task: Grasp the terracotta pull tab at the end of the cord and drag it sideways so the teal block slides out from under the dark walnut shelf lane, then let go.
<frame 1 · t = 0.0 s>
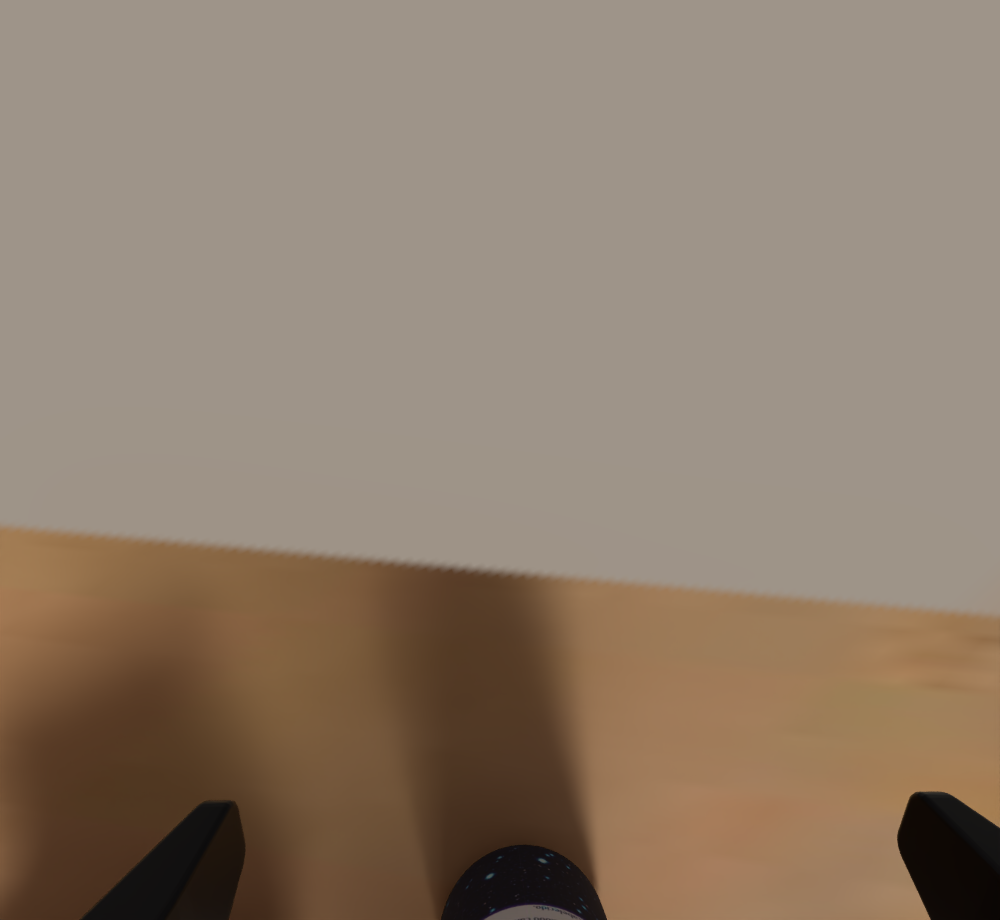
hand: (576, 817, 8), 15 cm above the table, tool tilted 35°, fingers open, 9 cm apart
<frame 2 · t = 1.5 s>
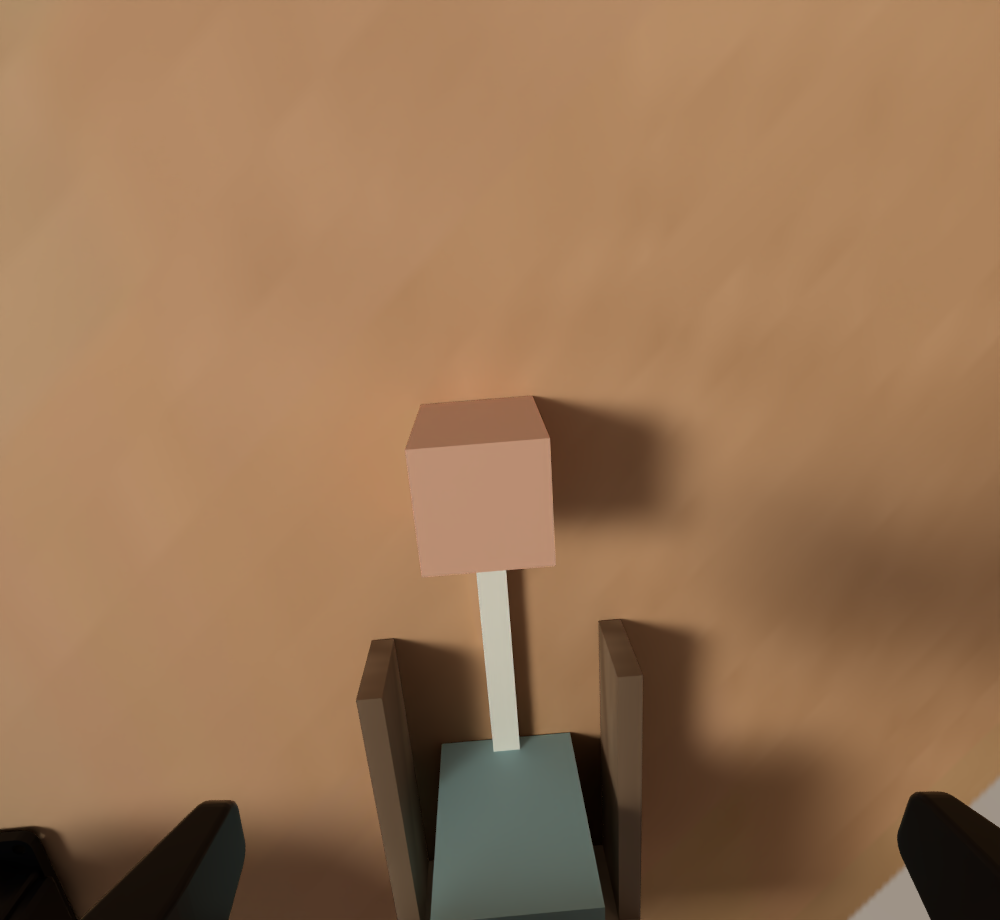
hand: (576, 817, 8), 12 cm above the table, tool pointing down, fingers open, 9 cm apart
shelf lane: (510, 787, 24), on the table
tethered block: (510, 786, 24), on the table
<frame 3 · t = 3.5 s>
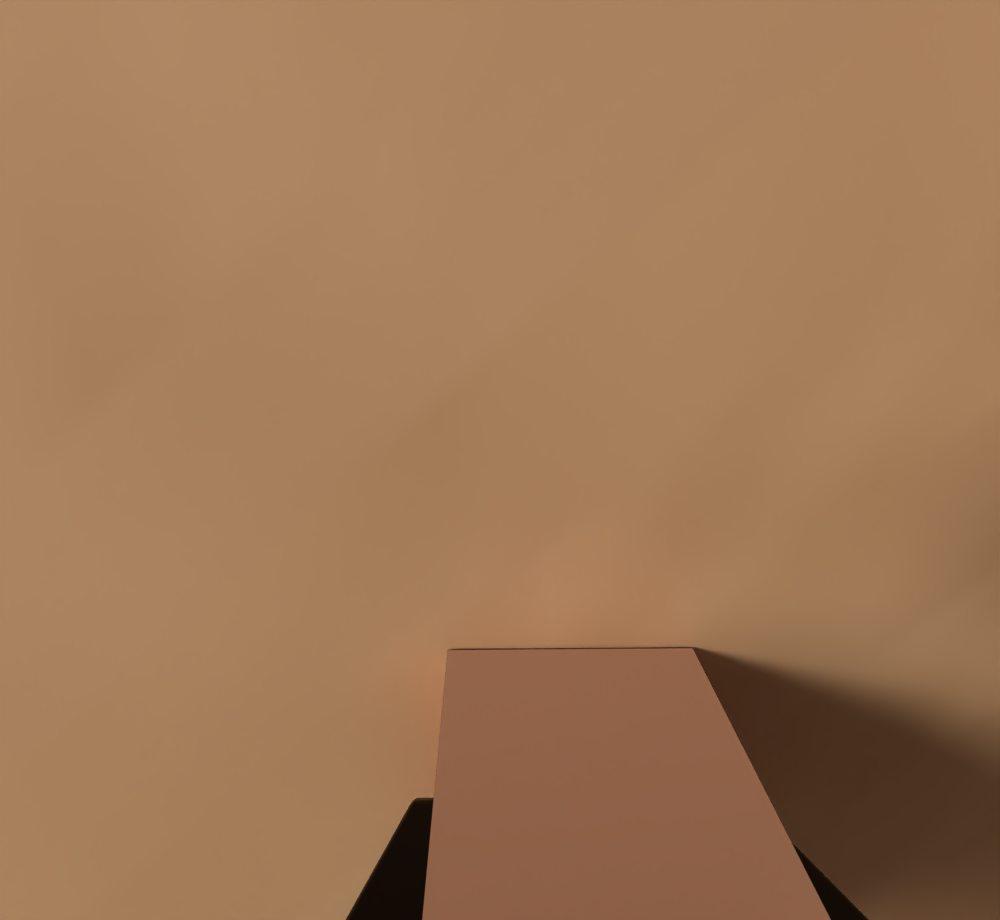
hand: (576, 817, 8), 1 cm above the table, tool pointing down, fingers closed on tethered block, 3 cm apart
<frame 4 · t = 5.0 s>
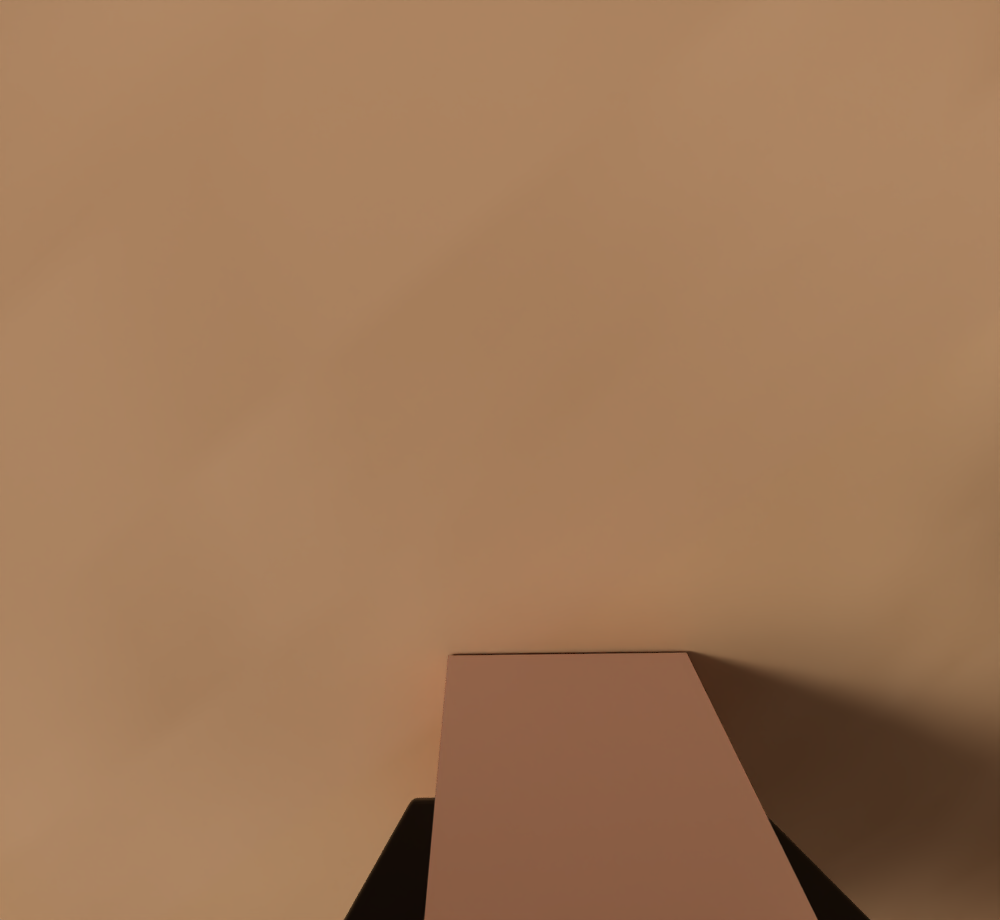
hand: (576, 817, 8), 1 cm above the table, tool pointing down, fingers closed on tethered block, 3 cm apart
when the fingers open (1 cm above the table, at t = 6.9 s): tethered block stays where it is, on the table.
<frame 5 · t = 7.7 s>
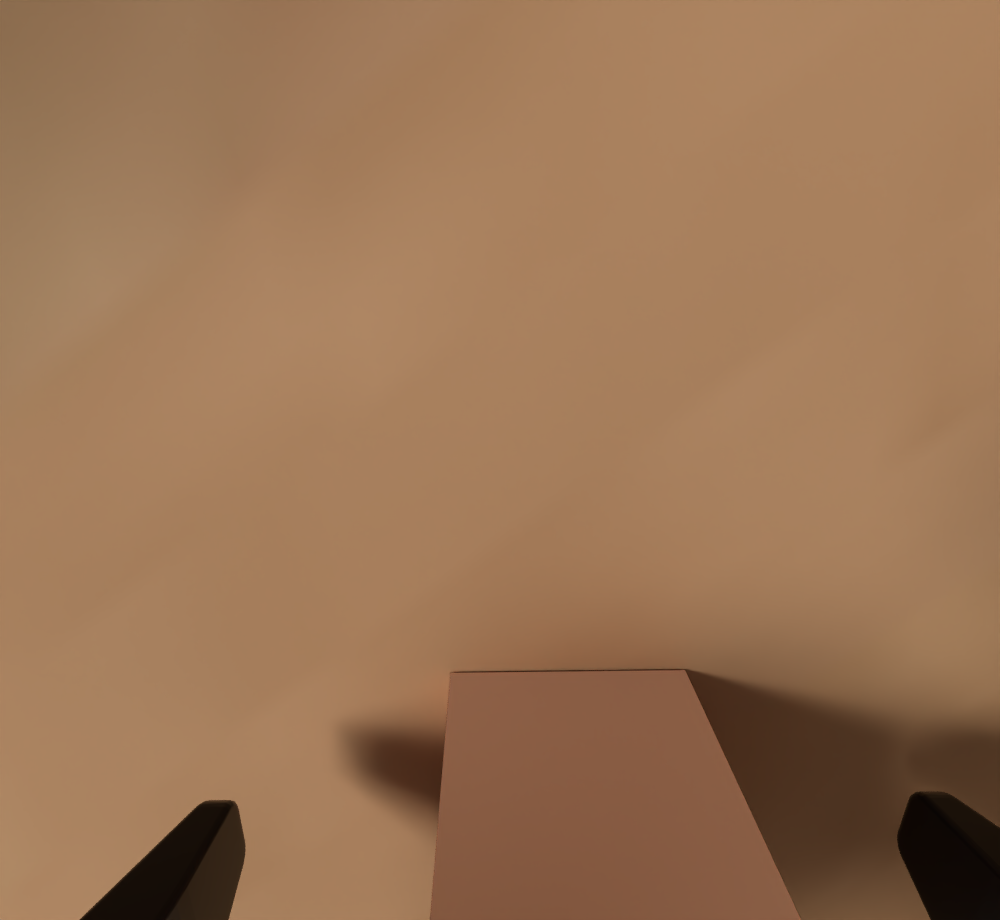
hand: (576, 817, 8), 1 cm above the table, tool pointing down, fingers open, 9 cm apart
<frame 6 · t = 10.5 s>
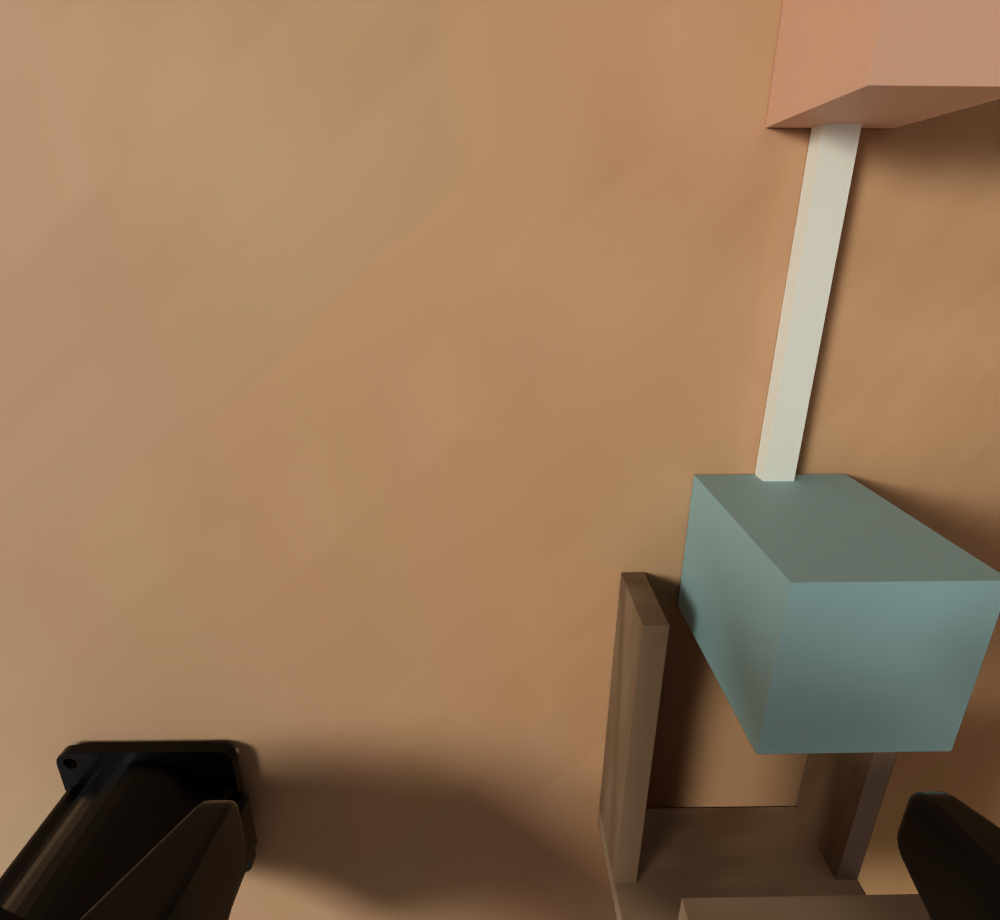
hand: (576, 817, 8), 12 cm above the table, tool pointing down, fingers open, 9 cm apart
shelf lane: (719, 738, 23), on the table
tethered block: (758, 542, 20), on the table
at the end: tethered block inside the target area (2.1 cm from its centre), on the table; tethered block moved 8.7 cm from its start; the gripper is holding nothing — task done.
